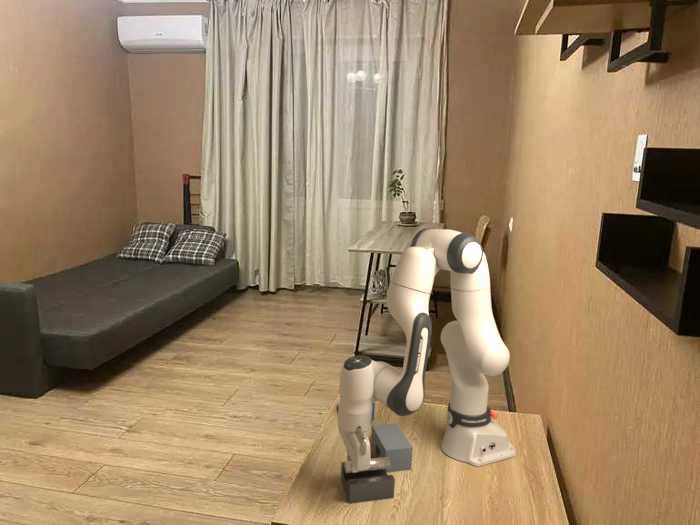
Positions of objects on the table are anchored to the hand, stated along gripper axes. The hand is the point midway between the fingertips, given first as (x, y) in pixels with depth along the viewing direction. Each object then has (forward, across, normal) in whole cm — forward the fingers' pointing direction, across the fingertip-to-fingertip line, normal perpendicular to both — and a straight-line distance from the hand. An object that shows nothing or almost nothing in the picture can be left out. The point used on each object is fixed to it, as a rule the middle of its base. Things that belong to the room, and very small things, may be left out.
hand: (352, 466), depth 138 cm
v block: (+7, 0, -4) cm, 8 cm away
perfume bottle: (+8, +35, -12) cm, 38 cm away
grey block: (+7, +13, -15) cm, 21 cm away
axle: (+2, 0, -4) cm, 4 cm away
